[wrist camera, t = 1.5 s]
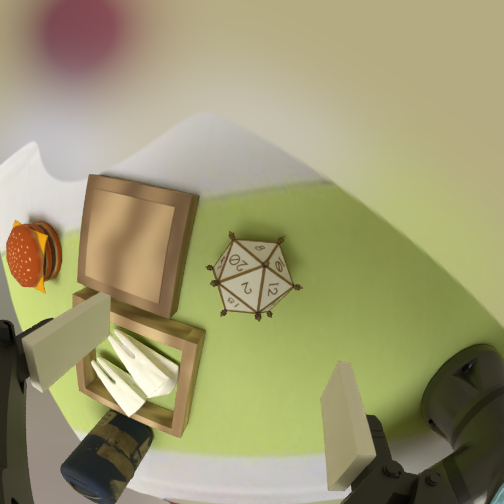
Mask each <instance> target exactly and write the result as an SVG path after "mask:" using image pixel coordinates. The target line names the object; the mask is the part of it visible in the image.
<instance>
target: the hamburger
mask: <svg viewBox="0 0 504 504" xmlns="http://www.w3.org/2000/svg"><path fill="white" fill-rule="evenodd" d="M6 251H7V262H8V265H9V268H10V271H11V274H12V275H13V277H14V278H15V279H16V280H17V281H18V282H19V283H20V285H21V286H23V287H33V288H35V289H37V290H39V291H41V292H43V293H46V292H45V288H44V282H45V281H48V280H50V279H52V278H55V277H56V275H57V273H58V272H59V270H60V267H61V262H62V255H61V246H60V243H59V239H58V236H57V235H56V233H55V231H54V230H53V228H52V227H51V226H49V225H48V224H47V223H44V222H36V223H35V224H21V223H19V222H18V221H16V220H15V222H14V225H13V229H12V231H11V233H10V236H9V238H8V240H7V243H6Z"/></svg>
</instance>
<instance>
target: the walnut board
mask: <svg viewBox="0 0 504 504" xmlns="http://www.w3.org/2000/svg"><path fill="white" fill-rule="evenodd" d="M198 200H199V196H197V195H193V194H188V193H184V192H179V191H175V190H171V189H166V188H162V187H157V186H152V185H148V184H143V183H138V182H133V181H128V180H124V179H119V178H114V177H108V176H103V175H92V174H89V177H88V183H87V188H86V195H85V201H84V208H83V216H82V224H81V233H80V244H79V257H78V277H77V282H78V283H80V284H83V285H85V286H87V287H89V288H92V289H94V290H96V291H99V292H102V293H105V294H107V295H110V296H111V297H113V298H115V299H118V300H120V301H123V302H125V303H128V304H130V305H133V306H135V307H138V308H141V309H143V310H146V311H149V312H151V313H154V314H157V315H159V316H162V317H165V318H168V319H170V318H171V317H172V316H173V315H174V314H175V313H176V312H177V308H178V302H179V296H180V290H181V285H182V279H183V274H184V268H185V263H186V258H187V252H188V247H189V242H190V237H191V232H192V228H193V223H194V218H195V214H196V209H197V205H198Z"/></svg>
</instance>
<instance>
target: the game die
mask: <svg viewBox="0 0 504 504" xmlns="http://www.w3.org/2000/svg"><path fill="white" fill-rule="evenodd" d="M229 237H230V238H231V240H232V241H231V243H230V244H229V246H228V247H227V249H226V250H225V251H224V253H223V254H222V256H221V257H220V259H219V260H218V261H217V263H216V264H215V266H214V267H213V266H212V265H211V266H210V265H208V266H206V268H207V270H213V273H214V276H215V279H216V280H214V281H212V282H211V283H210V284H211V285H212V286H213V287H214V286H218V289H219V293H220V296H221V299H222V302H223V305H224V310H222V312H220V313H221V315H220V317H221V316H225V314H227V313H226V312H227V311H232V312H242V313H252V314H256V315H255V317H256V318H255V319H257V320H258V321H260V319H261V314H260V313H264V312H267V315H268V317H271V318H272V314H273V313H271V311H270V310H271V309H272V308H273V307H274V306H275V305H276V304H277V303H278V302H279V301H280V300H281V299H282V298H283V297H284V296H285V295H286V294H287V293H288V292H289V291H291V290H292V289H293V288H294V289H295V290H296V289H297V290H300V289H302V287H301V286H300V285H297V284H296V285H294V284H293V281H292V278H291V275H290V272H289V269H288V267H287V264H286V261H285V258H284V255H283V253H282V250H281V247H280V244H281V243H282V242H283V241H284V236H282V237H279V239H278V241H277V242H267V241H255V240H243V239H235V235H234V233H232V232H231V231H229Z"/></svg>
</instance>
